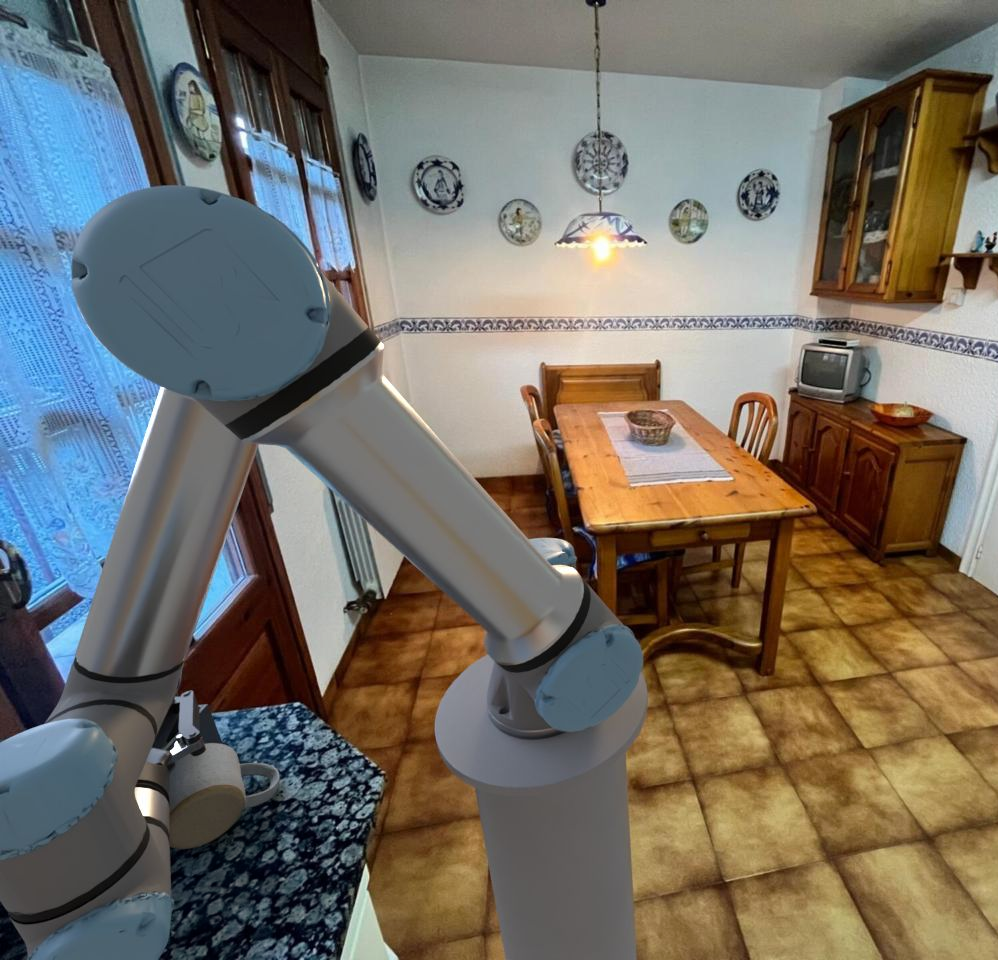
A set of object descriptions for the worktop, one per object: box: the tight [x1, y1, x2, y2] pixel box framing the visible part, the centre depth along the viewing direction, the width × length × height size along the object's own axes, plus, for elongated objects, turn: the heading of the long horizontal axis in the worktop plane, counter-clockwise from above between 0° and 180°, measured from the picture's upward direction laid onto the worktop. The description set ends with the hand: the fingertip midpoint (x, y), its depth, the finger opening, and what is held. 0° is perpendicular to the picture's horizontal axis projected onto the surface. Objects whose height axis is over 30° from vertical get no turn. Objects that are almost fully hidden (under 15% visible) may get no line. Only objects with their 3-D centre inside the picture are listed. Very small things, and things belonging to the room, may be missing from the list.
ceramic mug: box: [169, 743, 281, 850], centre depth 58 cm, size 11×8×8 cm
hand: (126, 693), depth 64 cm, fingers open, 6 cm apart
